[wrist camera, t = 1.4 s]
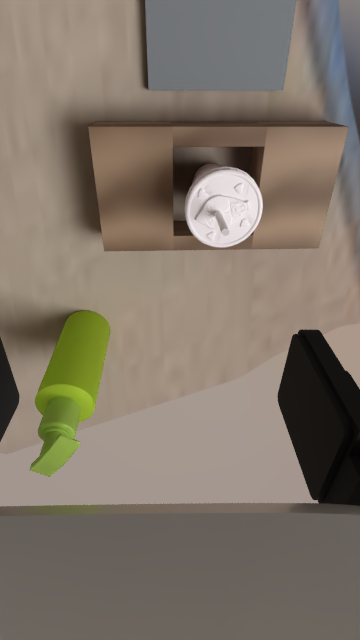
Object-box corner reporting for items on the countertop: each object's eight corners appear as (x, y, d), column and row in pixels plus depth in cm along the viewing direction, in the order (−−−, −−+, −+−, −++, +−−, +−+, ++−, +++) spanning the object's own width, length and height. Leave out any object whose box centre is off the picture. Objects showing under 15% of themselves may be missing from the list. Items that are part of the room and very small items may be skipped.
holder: (96, 121, 32) (88, 126, 28) (327, 121, 33) (348, 126, 29) (109, 234, 38) (104, 251, 35) (303, 232, 39) (318, 248, 36)
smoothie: (172, 158, 34) (178, 197, 23) (236, 140, 34) (274, 170, 22) (187, 219, 38) (199, 280, 26) (245, 204, 37) (282, 259, 26)
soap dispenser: (123, 320, 45) (101, 457, 29) (95, 352, 48) (61, 493, 32) (83, 296, 43) (35, 430, 26) (56, 332, 46) (-2, 472, 29)
